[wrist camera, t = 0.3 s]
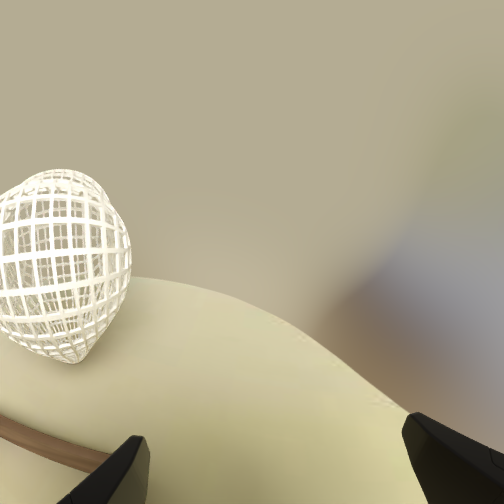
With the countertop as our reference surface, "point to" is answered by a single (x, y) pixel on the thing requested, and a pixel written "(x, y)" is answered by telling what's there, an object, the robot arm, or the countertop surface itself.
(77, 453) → the walnut bay
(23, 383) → the countertop surface
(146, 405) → the countertop surface
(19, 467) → the countertop surface
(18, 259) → the heart
